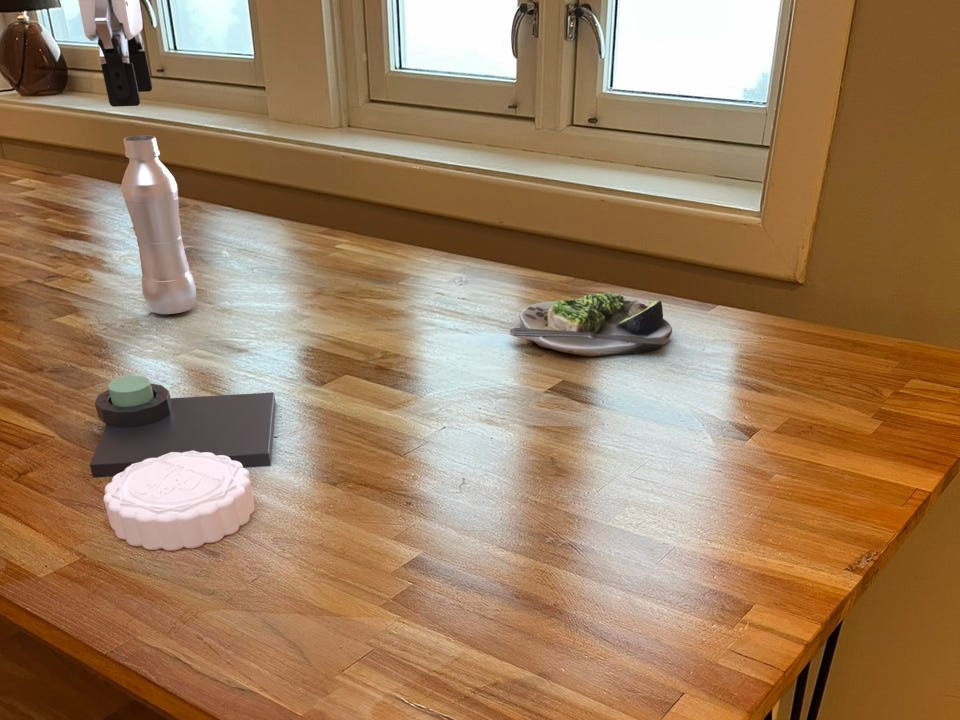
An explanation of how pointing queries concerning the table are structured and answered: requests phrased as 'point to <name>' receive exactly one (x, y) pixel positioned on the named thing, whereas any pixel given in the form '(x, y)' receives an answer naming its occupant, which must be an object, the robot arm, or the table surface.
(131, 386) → the button
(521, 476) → the table surface
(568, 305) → the salad plate
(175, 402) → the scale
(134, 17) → the robot arm
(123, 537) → the mooncake
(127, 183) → the plastic bottle
